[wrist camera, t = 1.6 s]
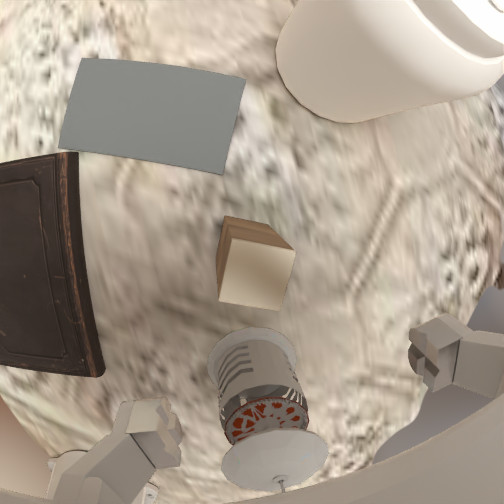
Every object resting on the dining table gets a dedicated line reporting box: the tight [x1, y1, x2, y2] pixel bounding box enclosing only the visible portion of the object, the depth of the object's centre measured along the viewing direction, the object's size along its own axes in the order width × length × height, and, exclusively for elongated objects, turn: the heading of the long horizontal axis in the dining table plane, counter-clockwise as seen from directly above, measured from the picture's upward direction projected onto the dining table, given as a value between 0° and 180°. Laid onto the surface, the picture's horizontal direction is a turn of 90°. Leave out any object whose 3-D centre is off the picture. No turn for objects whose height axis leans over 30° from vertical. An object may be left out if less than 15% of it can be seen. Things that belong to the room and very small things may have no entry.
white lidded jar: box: [275, 0, 504, 123], centre depth 16 cm, size 12×12×20 cm
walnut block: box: [216, 216, 296, 311], centre depth 24 cm, size 4×4×10 cm
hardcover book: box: [0, 152, 106, 378], centre depth 26 cm, size 16×23×2 cm
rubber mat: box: [58, 58, 246, 175], centre depth 25 cm, size 9×16×1 cm, turn 77°
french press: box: [207, 327, 329, 493], centre depth 21 cm, size 10×12×25 cm
